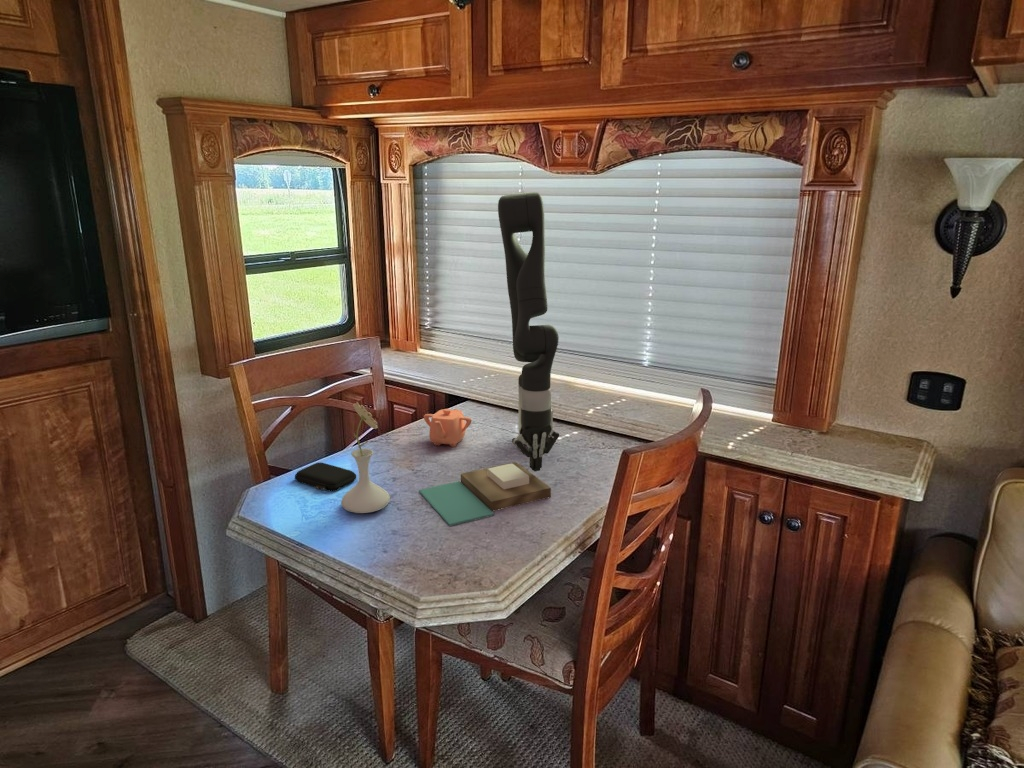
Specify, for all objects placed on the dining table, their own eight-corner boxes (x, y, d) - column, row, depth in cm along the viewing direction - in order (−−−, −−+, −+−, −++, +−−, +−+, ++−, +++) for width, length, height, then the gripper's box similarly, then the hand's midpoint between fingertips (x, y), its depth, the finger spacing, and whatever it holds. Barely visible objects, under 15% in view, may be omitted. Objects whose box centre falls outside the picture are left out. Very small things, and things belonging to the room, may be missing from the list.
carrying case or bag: (288, 484, 175) (329, 497, 167) (287, 473, 174) (328, 485, 167) (319, 469, 184) (360, 481, 176) (318, 459, 183) (359, 470, 175)
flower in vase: (393, 514, 158) (387, 411, 151) (342, 521, 155) (334, 417, 148) (386, 490, 170) (380, 395, 163) (339, 496, 167) (331, 399, 160)
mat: (459, 482, 174) (459, 481, 174) (494, 515, 157) (494, 513, 157) (418, 491, 169) (418, 489, 169) (449, 526, 152) (449, 524, 152)
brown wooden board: (516, 470, 181) (516, 461, 181) (550, 497, 166) (550, 487, 165) (460, 482, 174) (460, 473, 174) (491, 511, 159) (491, 501, 158)
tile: (512, 470, 175) (512, 463, 175) (529, 483, 168) (529, 476, 167) (487, 475, 172) (487, 468, 172) (503, 489, 164) (503, 481, 164)
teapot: (421, 437, 206) (420, 405, 203) (458, 431, 210) (457, 400, 207) (436, 453, 193) (435, 419, 190) (475, 447, 198) (474, 414, 195)
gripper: (551, 397, 174) (550, 460, 179) (505, 405, 168) (505, 469, 173) (566, 405, 168) (565, 470, 173) (519, 413, 162) (519, 480, 167)
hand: (535, 470), depth 173 cm, fingers closed
